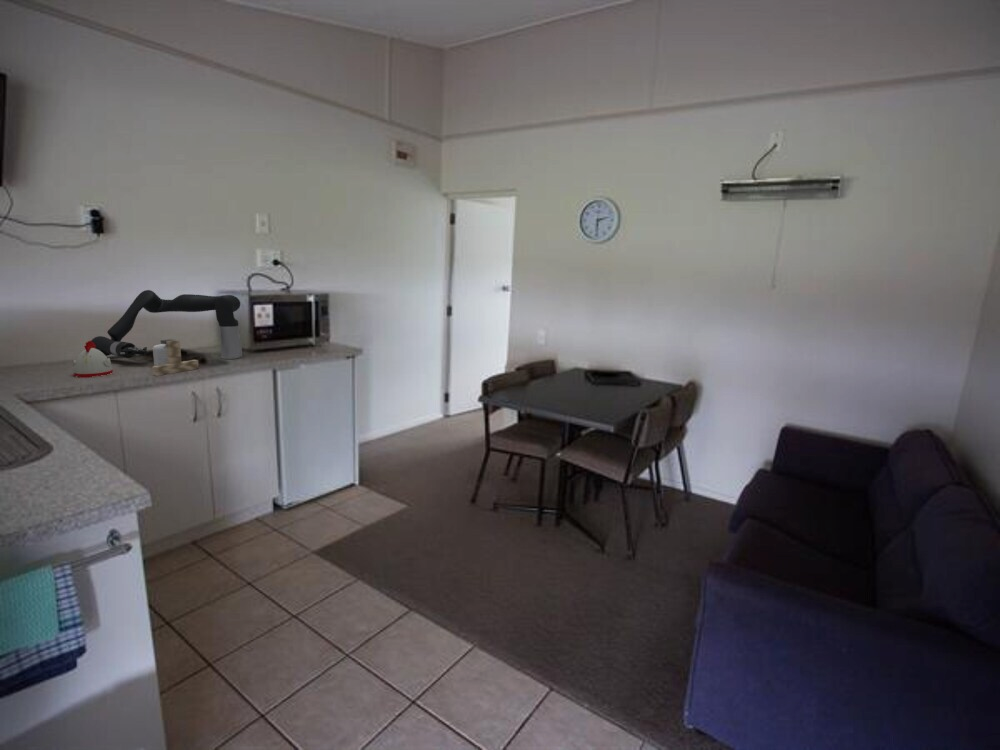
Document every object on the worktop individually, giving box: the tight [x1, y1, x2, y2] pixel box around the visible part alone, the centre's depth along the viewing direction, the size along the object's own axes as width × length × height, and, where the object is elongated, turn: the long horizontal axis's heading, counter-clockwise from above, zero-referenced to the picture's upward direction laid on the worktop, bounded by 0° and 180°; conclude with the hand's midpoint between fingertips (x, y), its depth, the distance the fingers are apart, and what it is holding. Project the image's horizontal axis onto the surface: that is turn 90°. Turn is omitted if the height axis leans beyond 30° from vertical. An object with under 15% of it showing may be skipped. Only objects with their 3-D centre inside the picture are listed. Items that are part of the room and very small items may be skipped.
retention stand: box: [152, 338, 200, 377], centre depth 244 cm, size 20×7×14 cm, turn 155°
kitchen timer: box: [73, 340, 114, 378], centre depth 233 cm, size 14×14×15 cm
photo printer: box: [152, 343, 168, 366], centre depth 246 cm, size 10×4×12 cm, turn 87°
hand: (145, 353), depth 252 cm, fingers closed
